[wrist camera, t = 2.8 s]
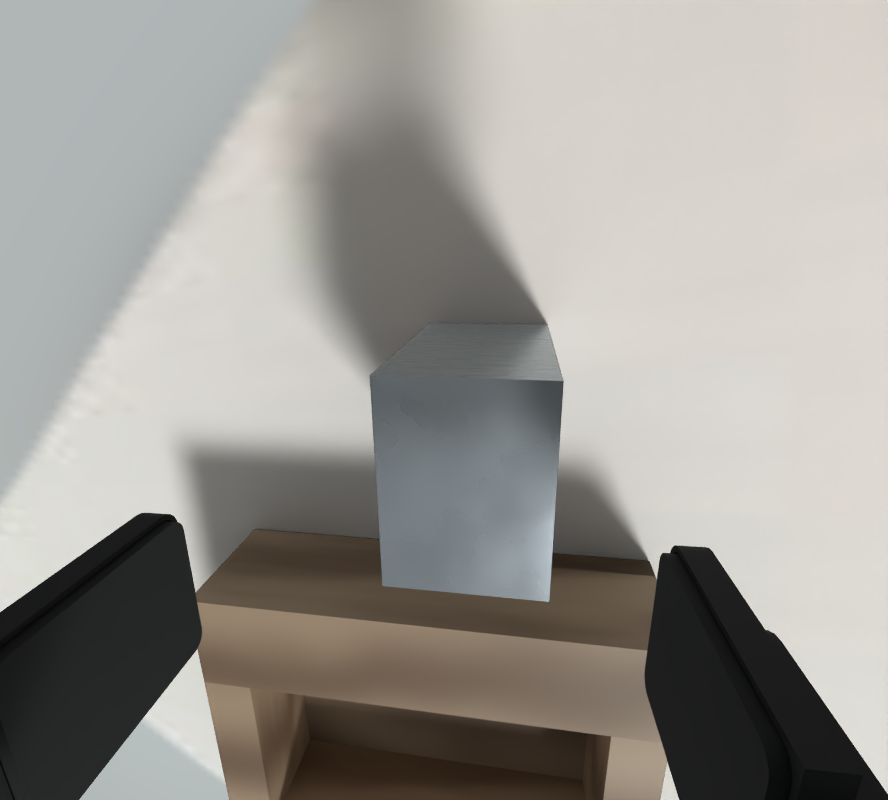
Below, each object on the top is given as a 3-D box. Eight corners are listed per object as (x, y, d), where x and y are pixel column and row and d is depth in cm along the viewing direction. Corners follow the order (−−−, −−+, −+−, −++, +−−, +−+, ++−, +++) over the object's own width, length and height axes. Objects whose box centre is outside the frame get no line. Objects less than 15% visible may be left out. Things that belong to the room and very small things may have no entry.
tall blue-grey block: (430, 322, 19) (369, 375, 12) (547, 323, 19) (563, 380, 11) (433, 462, 21) (382, 586, 14) (540, 468, 20) (549, 601, 13)
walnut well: (254, 529, 24) (187, 601, 19) (649, 561, 21) (685, 654, 16) (291, 769, 28) (244, 874, 24) (613, 820, 26) (633, 949, 21)
